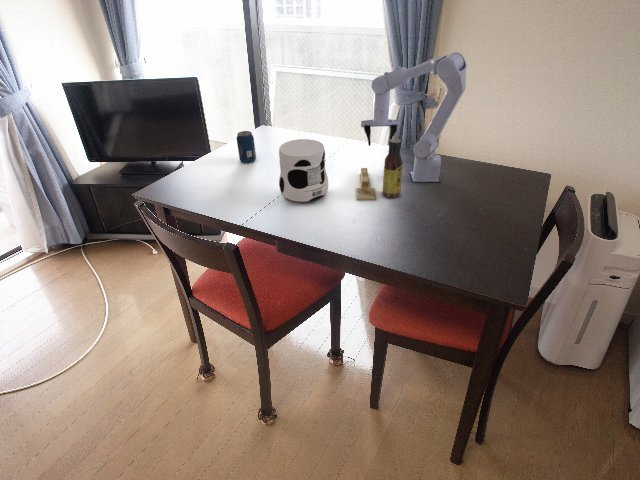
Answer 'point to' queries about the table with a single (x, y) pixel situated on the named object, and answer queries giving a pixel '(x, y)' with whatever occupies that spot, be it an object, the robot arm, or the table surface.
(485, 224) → the table surface
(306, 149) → the milk container
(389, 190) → the sauce bottle
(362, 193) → the tan upright bar
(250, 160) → the soda can
